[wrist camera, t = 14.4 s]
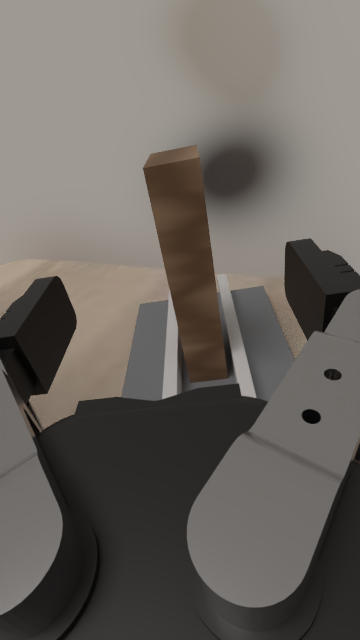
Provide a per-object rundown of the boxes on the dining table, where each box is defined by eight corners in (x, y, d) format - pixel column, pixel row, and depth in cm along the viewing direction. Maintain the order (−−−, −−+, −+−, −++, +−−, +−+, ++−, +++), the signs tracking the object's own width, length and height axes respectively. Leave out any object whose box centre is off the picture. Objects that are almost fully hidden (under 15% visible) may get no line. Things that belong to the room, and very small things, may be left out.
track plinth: (108, 508, 21) (89, 476, 19) (143, 315, 39) (135, 287, 37) (340, 489, 19) (347, 451, 17) (263, 297, 37) (262, 268, 35)
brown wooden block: (190, 383, 26) (143, 167, 17) (189, 343, 30) (150, 153, 22) (228, 378, 26) (199, 157, 17) (221, 339, 30) (196, 145, 21)
